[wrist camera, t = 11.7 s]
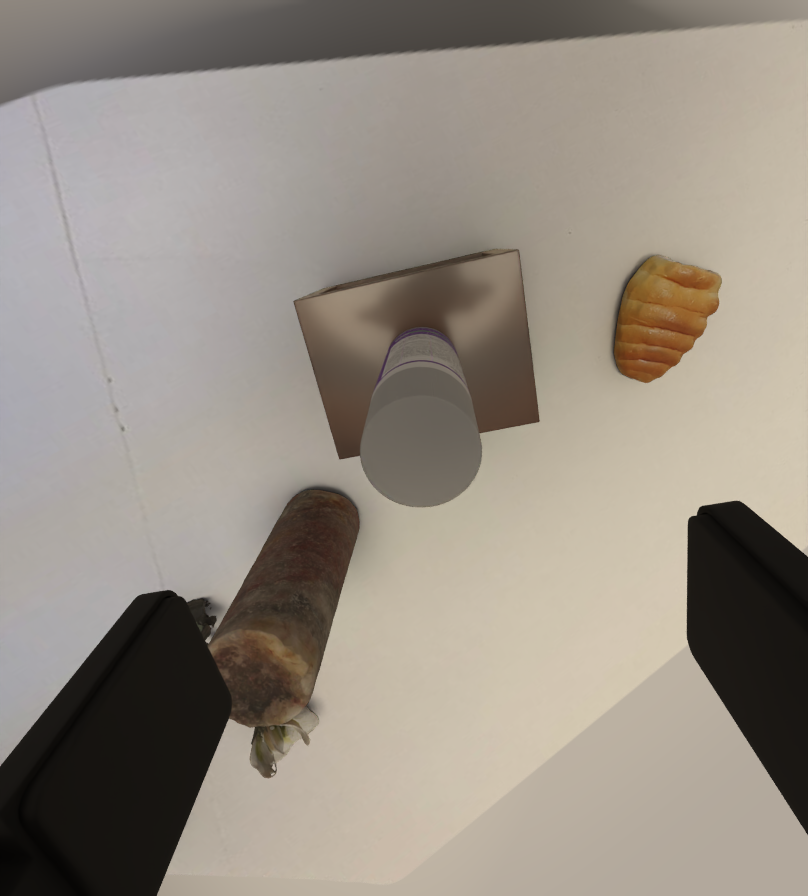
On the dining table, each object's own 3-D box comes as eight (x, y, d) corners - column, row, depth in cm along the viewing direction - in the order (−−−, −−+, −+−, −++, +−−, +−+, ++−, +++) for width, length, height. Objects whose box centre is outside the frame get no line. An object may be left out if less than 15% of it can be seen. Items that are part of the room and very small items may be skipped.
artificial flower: (231, 577, 53) (225, 646, 44) (322, 700, 63) (333, 776, 54) (153, 616, 52) (131, 693, 43) (258, 734, 62) (258, 816, 53)
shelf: (323, 288, 40) (292, 300, 30) (495, 248, 38) (518, 249, 29) (357, 414, 44) (339, 459, 34) (514, 383, 42) (539, 422, 33)
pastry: (666, 384, 42) (688, 397, 38) (590, 366, 41) (605, 377, 38) (717, 270, 38) (747, 273, 35) (635, 249, 38) (656, 250, 34)
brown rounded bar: (277, 538, 49) (187, 715, 30) (290, 474, 46) (201, 626, 28) (351, 556, 49) (308, 742, 31) (368, 495, 47) (332, 657, 28)
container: (432, 411, 33) (438, 531, 19) (372, 374, 32) (333, 471, 18) (472, 352, 31) (511, 436, 17) (410, 311, 30) (399, 366, 17)
